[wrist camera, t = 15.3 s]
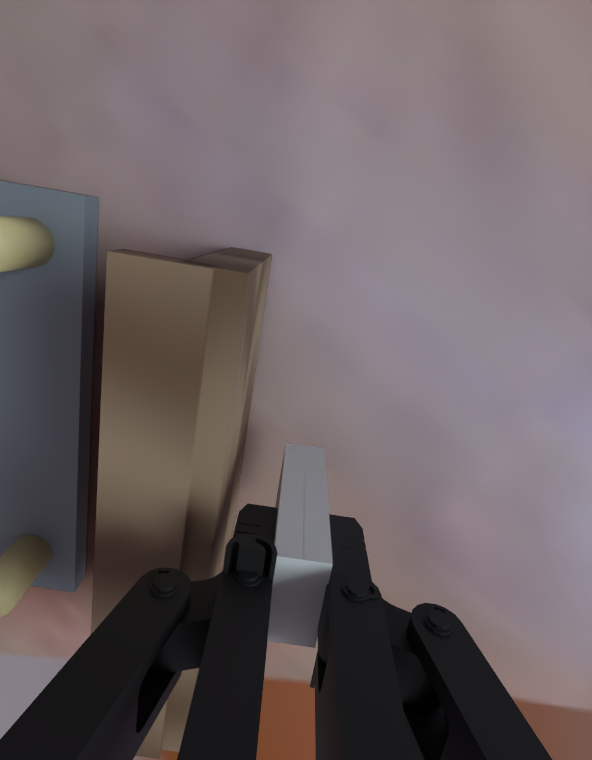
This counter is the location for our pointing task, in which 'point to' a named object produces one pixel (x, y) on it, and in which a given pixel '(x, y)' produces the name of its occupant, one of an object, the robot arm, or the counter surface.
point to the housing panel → (173, 427)
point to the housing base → (45, 386)
